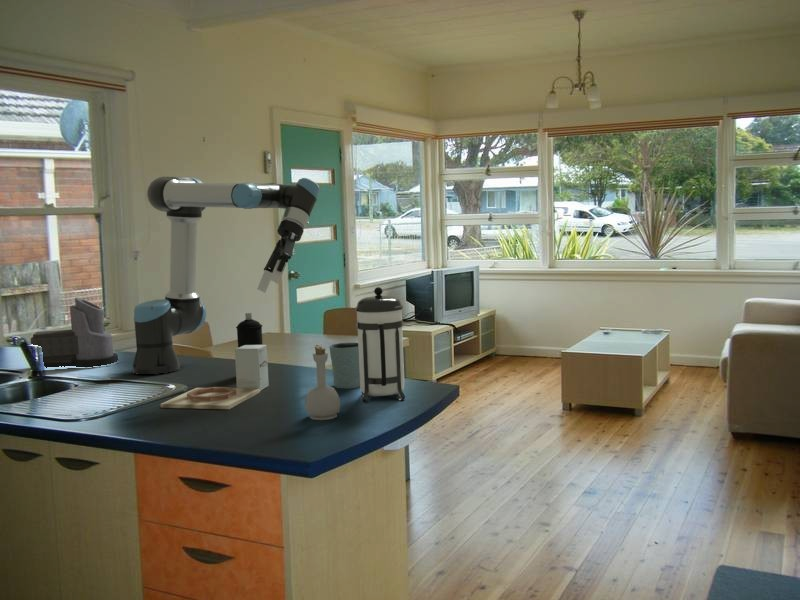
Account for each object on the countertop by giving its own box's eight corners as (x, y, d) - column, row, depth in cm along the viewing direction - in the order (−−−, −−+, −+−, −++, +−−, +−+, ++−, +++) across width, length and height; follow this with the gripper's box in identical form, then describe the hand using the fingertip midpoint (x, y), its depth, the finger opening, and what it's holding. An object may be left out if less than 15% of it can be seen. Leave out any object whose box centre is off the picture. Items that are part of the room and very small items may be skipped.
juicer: (123, 358, 297) (118, 293, 294) (120, 366, 281) (114, 297, 279) (35, 365, 289) (30, 298, 287) (27, 373, 274) (21, 302, 271)
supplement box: (260, 391, 230) (257, 348, 229) (236, 391, 232) (233, 348, 230) (269, 386, 237) (267, 344, 236) (246, 386, 239) (243, 344, 238)
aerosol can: (262, 377, 251) (258, 314, 249) (236, 378, 251) (232, 315, 249) (267, 372, 259) (263, 311, 257) (242, 373, 259) (238, 311, 257)
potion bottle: (323, 410, 205) (319, 341, 203) (348, 415, 199) (345, 343, 197) (298, 418, 198) (294, 346, 196) (323, 423, 193) (320, 349, 191)
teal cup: (344, 390, 228) (342, 348, 226) (324, 385, 235) (322, 345, 234) (372, 384, 234) (370, 344, 233) (352, 380, 242) (350, 340, 240)
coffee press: (341, 399, 217) (335, 289, 214) (383, 388, 228) (379, 283, 225) (385, 408, 205) (380, 291, 202) (428, 396, 216) (424, 286, 213)
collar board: (160, 407, 215) (160, 399, 215) (196, 391, 235) (196, 383, 234) (228, 409, 210) (228, 401, 210) (260, 392, 230) (259, 384, 229)
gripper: (317, 219, 237) (291, 283, 229) (291, 240, 259) (267, 299, 251) (294, 208, 234) (267, 271, 227) (270, 230, 256) (245, 289, 249)
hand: (267, 286), depth 239 cm, fingers open, 13 cm apart
